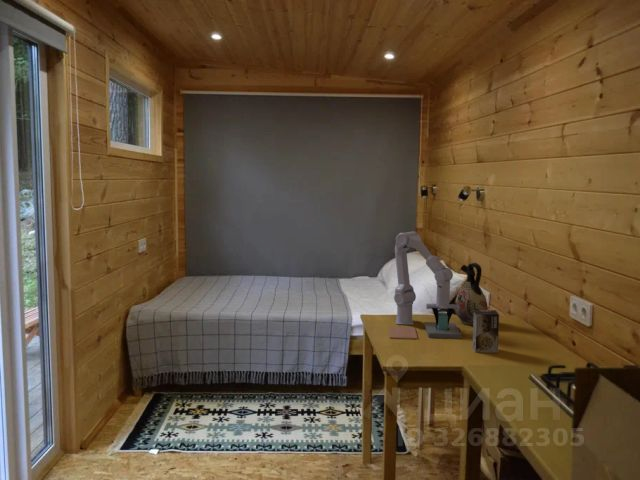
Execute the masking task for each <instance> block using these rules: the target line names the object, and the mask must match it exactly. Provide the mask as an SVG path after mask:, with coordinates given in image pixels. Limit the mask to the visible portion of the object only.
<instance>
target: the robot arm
mask: <svg viewBox="0 0 640 480" xmlns="http://www.w3.org/2000/svg"><path fill="white" fill-rule="evenodd" d="M411 248H412V249H415V250H416V251H417V252H418V253H419V254H420V255H421V256H422V258H424V260H425V265H426V266H427V267H428V268H429V270H430V271H431V272H432V273H433V275H434V280H435V281H436V301H435V302H436V303H426V304H425V307H426V309H427V310H430V309H431V310H432V314H433V315H434V320H435V322H436V325H438V313H439V310H446V314H447V315H448V325H449V323H450V321H451V319H452V316H453V314H454V313H455V309H457V310H459V305H455V303H450V298H451V297H450V293H451V280H452V279H453V277H454V274H453V271H452V269H451V268H450V267H446V266H445V265H444V264H443V263H442V262H441V260H440V257H438V256H436V255H432V253H431V252H430V251H429V249H428V248H427V247H426V245H425V243H423V241H422V238H421V236H420V235H419V233H418V232H416V231H414V230H413V231H408V232H400V233H398V234H397V236H396V237H395V246H394V256H395V266H396V274H397V275H396V276H397V287H396V288H395V289H394V292H395V293H394V302H395V304H396V306H397V307H396V309H397V311H396V318H395V324H396V325H403V326H404V325H407V326H408V325H409V326H410V325H414V320H413V305H414V302H415V301H416V298H417V296H416V295H417V294H416V292H415V291H414V290H415V289H414V287H413V286H412V284H411V283H410V273H409V265H408V254H407V251H408V250H410V249H411Z"/></svg>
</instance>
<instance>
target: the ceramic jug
mask: <svg viewBox="0 0 640 480" xmlns="http://www.w3.org/2000/svg"><path fill="white" fill-rule="evenodd" d="M475 270H476V272H475ZM460 271H462V272H464V273H465V274H466V275H467V278H466V281H465V283H464V284H463V285H462V286H461V287H460V289H459V291H458V293H457V295H456V298H455V301H454V304H455V305H459V310H457V309H454V313H455V315H456V316H457V317H458V319H459V320H460V322H461V324H463V325H469V326H473V316H474V310H489V309H488V302H487V301H488V300H487V298H486V295H485V293H484V292H483V290H482V289H481V287H480V282H481V279H482V278H481V277H482V267H481V265H480V264H478V263H477V262H470V263H468V265H466V264H463V265H462V266H461V267H460Z"/></svg>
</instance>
